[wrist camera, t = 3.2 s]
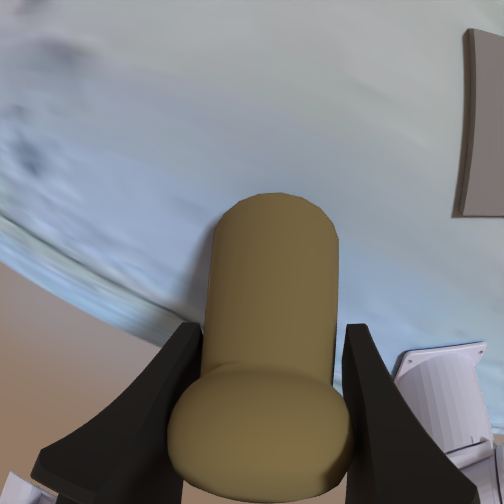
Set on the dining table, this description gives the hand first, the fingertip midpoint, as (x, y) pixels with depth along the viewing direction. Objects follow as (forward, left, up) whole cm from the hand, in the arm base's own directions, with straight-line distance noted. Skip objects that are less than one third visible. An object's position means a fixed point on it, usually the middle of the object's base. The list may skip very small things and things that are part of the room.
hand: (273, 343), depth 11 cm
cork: (0, 0, -6) cm, 6 cm away
